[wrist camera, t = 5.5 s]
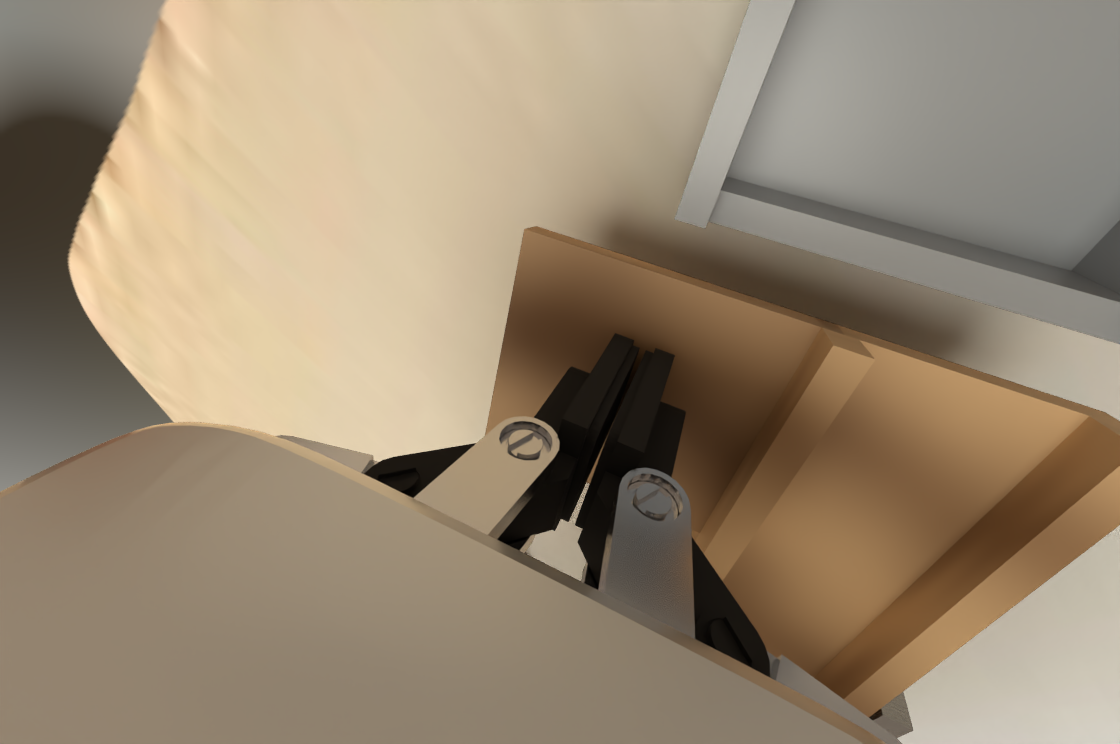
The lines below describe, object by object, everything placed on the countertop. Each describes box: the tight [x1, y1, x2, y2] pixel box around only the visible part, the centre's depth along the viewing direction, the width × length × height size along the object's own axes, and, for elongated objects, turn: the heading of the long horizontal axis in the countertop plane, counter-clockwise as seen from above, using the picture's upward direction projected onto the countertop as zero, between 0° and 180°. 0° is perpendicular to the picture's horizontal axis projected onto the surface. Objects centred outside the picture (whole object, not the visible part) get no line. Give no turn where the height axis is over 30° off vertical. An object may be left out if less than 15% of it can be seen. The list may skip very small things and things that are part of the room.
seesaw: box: [485, 226, 1120, 717], centre depth 15 cm, size 22×14×4 cm, turn 168°
